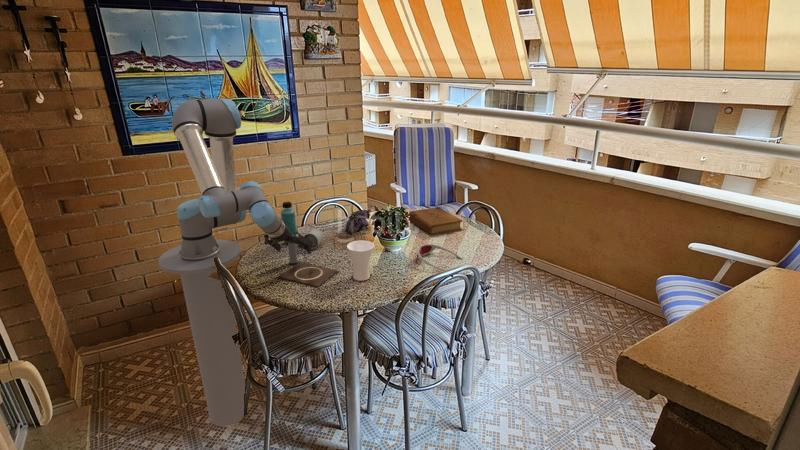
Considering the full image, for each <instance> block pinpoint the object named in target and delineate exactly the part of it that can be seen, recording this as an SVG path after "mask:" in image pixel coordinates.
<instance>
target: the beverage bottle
mask: <svg viewBox="0 0 800 450" xmlns="http://www.w3.org/2000/svg"><path fill="white" fill-rule="evenodd" d="M280 215H281V216H280V217H281V218H280V219H281V220H282V221H283V222H284V223H285V225H286V226H287V227H288V229H289V232H290V233H292V234H296V232H297V224H296V223H297V222H296V212H295V210H294V209H293V205H292V202H291V201H284V202H282V210H280Z"/></svg>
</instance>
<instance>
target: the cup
mask: <svg viewBox="0 0 800 450" xmlns="http://www.w3.org/2000/svg"><path fill="white" fill-rule="evenodd" d="M346 248H347V251H348V254H349V256H350V259H351V262H352V268H353V277H352V278H353V279H354V280H355V281H359V282H362V281H368V280H369V279H370V278H371V275H370V264H371V258H372V255H373V252H374V249H375V243H374V242H373V241H370V240H363V239H362V240H359V239H358V240H353V241H350V242H349V243H347V245H346Z"/></svg>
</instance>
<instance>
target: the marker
mask: <svg viewBox="0 0 800 450" xmlns="http://www.w3.org/2000/svg"><path fill="white" fill-rule="evenodd" d="M290 241H291V240H290ZM287 247H288V257H289V264H290V265H291V266H296V265H298V264H299V261H298V251H297V244H295V243H289V242H287Z"/></svg>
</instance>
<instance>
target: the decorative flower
mask: <svg viewBox="0 0 800 450" xmlns="http://www.w3.org/2000/svg"><path fill="white" fill-rule="evenodd" d="M371 213H372V211H371V210H368V209H360V210H356V211H353V212H352V213H351V214H350V216H349V218H348V220H347V222H346V224H345V231H346V232H347V233H348V234H349V235H353V234H354V230H355V231H356V233H360V232H361V231H362V229H363V228H365V229H366V230H369V225H370V224H369V222H368V220H370V219H371V218H370V217H371Z"/></svg>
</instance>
